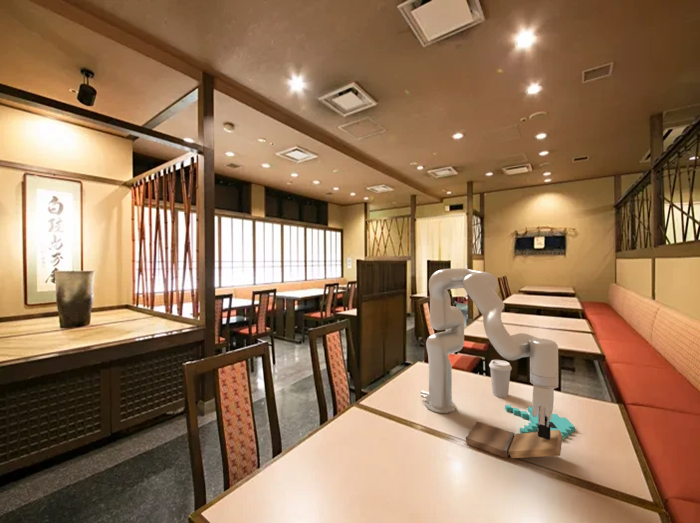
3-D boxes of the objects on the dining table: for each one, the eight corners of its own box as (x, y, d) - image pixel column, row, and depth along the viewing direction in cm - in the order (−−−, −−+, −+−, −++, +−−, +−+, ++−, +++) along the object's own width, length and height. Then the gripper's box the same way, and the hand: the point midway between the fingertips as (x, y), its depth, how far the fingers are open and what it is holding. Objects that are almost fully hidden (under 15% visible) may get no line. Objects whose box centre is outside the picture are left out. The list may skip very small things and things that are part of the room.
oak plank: (511, 458, 95) (508, 451, 96) (518, 440, 105) (515, 434, 105) (560, 455, 87) (556, 448, 88) (562, 436, 97) (559, 429, 97)
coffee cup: (486, 389, 146) (486, 358, 146) (508, 391, 144) (508, 359, 144) (492, 398, 137) (491, 365, 137) (514, 400, 135) (514, 366, 135)
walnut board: (466, 443, 103) (466, 436, 103) (476, 426, 114) (476, 420, 114) (507, 458, 96) (507, 451, 96) (514, 439, 106) (514, 432, 106)
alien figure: (522, 437, 108) (585, 444, 104) (522, 431, 108) (585, 437, 103) (505, 410, 127) (557, 414, 123) (505, 404, 127) (557, 409, 123)
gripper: (533, 369, 103) (533, 423, 103) (526, 384, 91) (526, 444, 91) (559, 374, 98) (560, 430, 98) (556, 390, 87) (556, 453, 87)
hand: (544, 436), depth 95 cm, fingers closed
